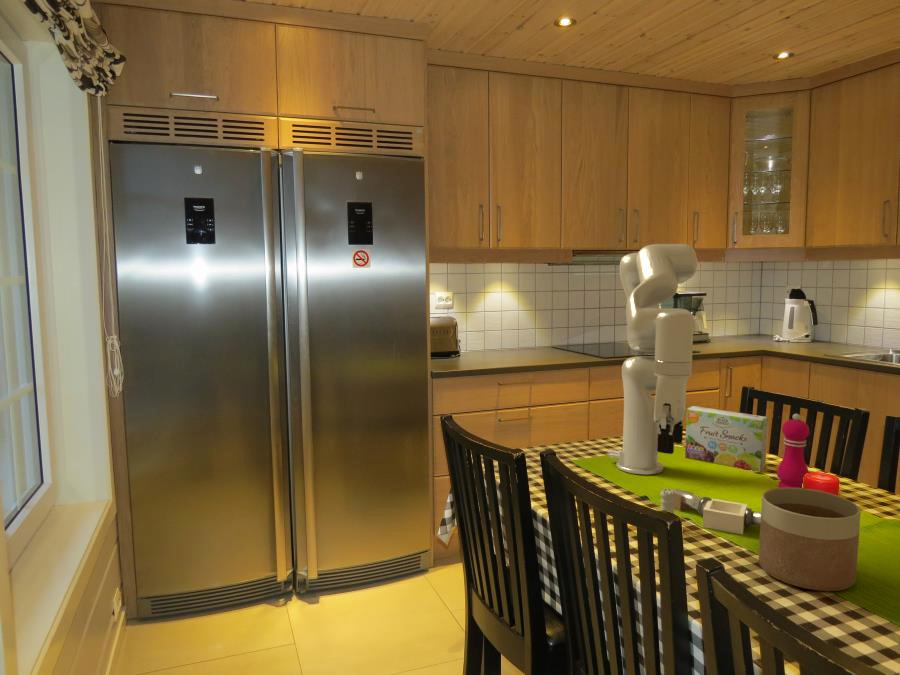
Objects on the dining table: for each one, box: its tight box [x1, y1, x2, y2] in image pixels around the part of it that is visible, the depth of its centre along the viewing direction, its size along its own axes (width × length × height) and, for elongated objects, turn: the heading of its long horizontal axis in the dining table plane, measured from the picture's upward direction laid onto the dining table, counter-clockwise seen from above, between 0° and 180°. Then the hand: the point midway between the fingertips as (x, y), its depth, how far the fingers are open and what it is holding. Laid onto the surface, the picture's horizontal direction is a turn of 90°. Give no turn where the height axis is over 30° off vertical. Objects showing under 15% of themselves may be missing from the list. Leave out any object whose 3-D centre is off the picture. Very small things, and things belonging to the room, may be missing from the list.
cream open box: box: [702, 498, 748, 535], centre depth 144 cm, size 8×8×4 cm
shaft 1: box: [673, 488, 712, 515], centre depth 152 cm, size 9×4×4 cm, turn 30°
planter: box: [758, 487, 862, 592], centre depth 121 cm, size 16×16×14 cm
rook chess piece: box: [659, 488, 676, 514], centre depth 143 cm, size 4×4×8 cm
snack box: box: [684, 405, 769, 473], centre depth 188 cm, size 21×6×15 cm, turn 49°
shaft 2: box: [744, 507, 761, 528], centre depth 140 cm, size 9×4×4 cm, turn 60°
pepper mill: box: [776, 413, 810, 488], centre depth 164 cm, size 7×7×20 cm
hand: (670, 447), depth 141 cm, fingers open, 9 cm apart
